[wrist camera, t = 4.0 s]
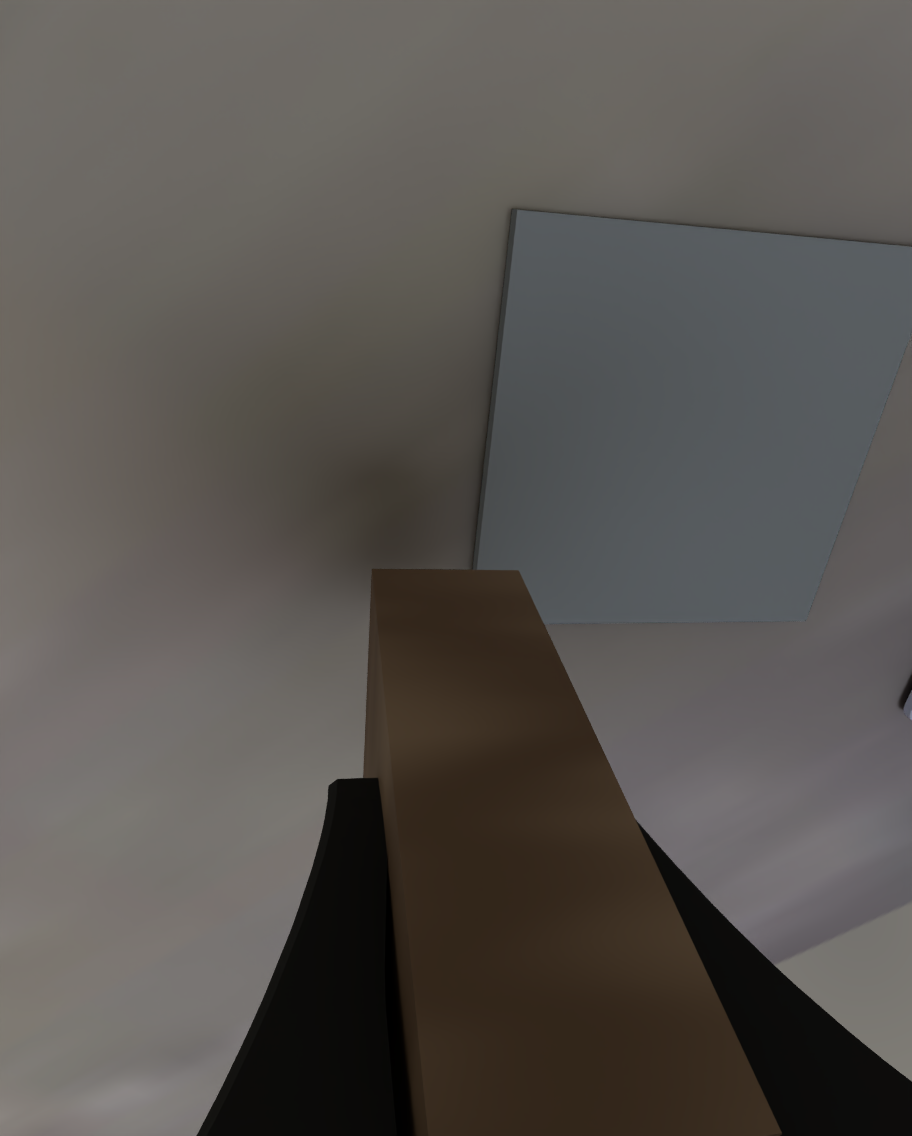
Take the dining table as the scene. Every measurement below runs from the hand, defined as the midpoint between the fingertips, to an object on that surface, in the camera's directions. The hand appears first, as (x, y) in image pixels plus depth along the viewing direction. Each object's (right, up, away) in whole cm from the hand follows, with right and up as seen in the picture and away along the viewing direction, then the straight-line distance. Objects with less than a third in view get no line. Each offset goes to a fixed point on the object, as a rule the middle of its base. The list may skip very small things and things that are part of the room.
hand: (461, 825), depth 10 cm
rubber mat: (+6, +7, +8) cm, 12 cm away
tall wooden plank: (0, +1, +3) cm, 3 cm away
